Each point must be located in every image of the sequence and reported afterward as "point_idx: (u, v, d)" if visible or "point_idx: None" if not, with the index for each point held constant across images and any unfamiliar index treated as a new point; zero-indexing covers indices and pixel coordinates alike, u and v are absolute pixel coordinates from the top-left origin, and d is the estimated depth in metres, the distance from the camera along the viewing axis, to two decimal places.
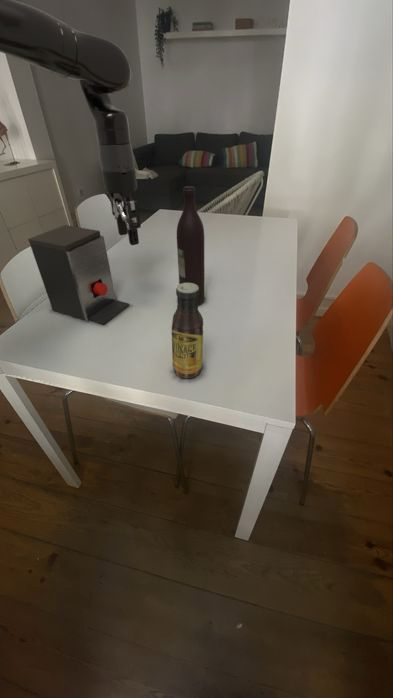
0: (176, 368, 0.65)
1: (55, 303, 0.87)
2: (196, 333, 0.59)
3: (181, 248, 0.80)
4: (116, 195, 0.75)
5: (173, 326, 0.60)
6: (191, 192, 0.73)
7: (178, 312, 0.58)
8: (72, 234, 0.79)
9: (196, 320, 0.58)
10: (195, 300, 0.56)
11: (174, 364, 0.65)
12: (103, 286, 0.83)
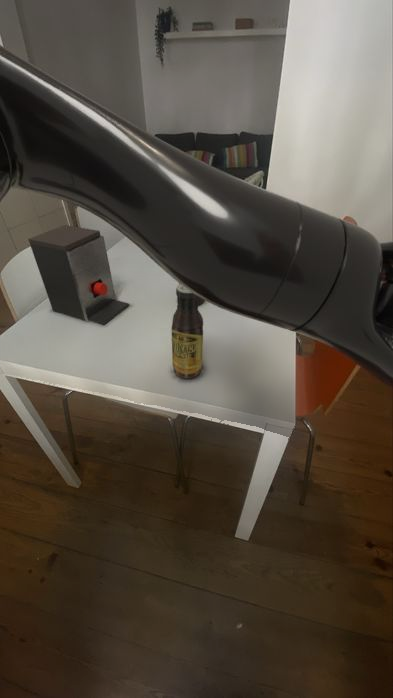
0: (176, 368, 0.65)
1: (55, 303, 0.87)
2: (196, 333, 0.59)
3: None
4: None
5: (173, 326, 0.60)
6: None
7: (178, 312, 0.58)
8: (72, 234, 0.79)
9: (196, 320, 0.58)
10: (195, 300, 0.56)
11: (174, 364, 0.65)
12: (103, 286, 0.83)
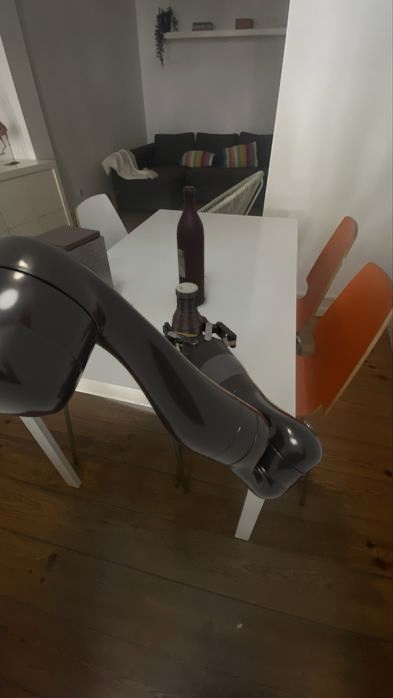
0: None
1: None
2: (196, 333, 0.59)
3: (181, 248, 0.80)
4: None
5: (173, 326, 0.60)
6: (191, 192, 0.73)
7: (177, 312, 0.58)
8: (72, 234, 0.79)
9: (195, 319, 0.58)
10: (194, 300, 0.56)
11: None
12: None
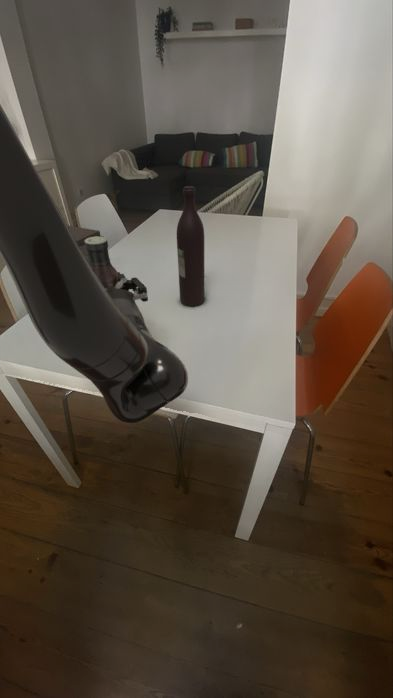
0: None
1: None
2: (110, 287, 0.60)
3: (181, 248, 0.80)
4: None
5: None
6: (191, 192, 0.73)
7: None
8: (72, 234, 0.79)
9: (107, 273, 0.59)
10: (104, 253, 0.57)
11: None
12: None
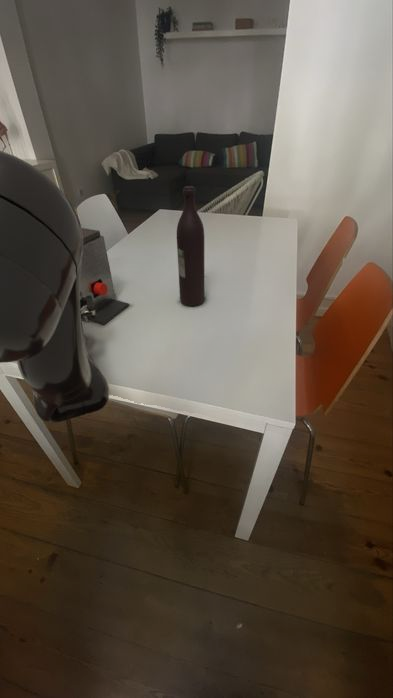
0: None
1: None
2: None
3: (181, 248, 0.80)
4: None
5: None
6: (191, 192, 0.73)
7: None
8: None
9: None
10: None
11: None
12: (103, 286, 0.83)
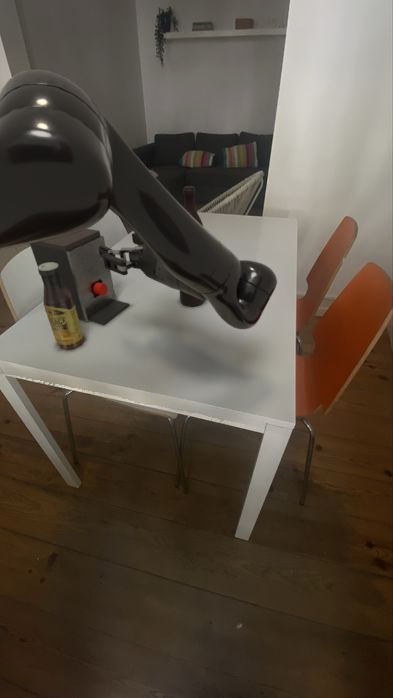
0: (56, 339, 0.74)
1: None
2: (63, 307, 0.68)
3: None
4: None
5: None
6: (191, 192, 0.73)
7: (44, 288, 0.66)
8: (72, 234, 0.79)
9: (60, 295, 0.67)
10: (55, 277, 0.65)
11: (54, 336, 0.74)
12: (103, 286, 0.83)
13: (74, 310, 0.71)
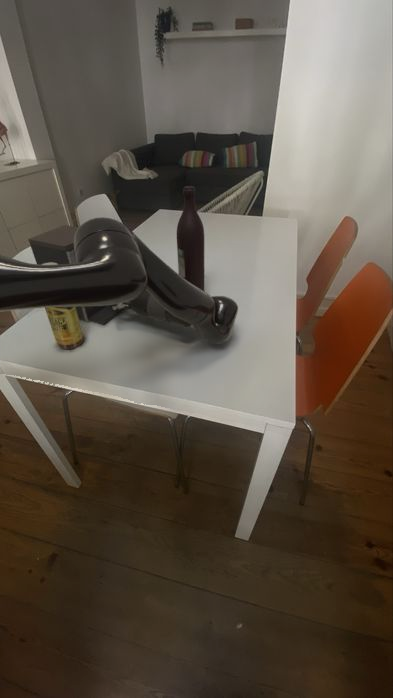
0: (56, 339, 0.74)
1: None
2: (63, 307, 0.68)
3: (181, 248, 0.80)
4: None
5: None
6: (191, 192, 0.73)
7: None
8: (72, 234, 0.79)
9: None
10: None
11: (54, 336, 0.74)
12: None
13: (74, 310, 0.71)
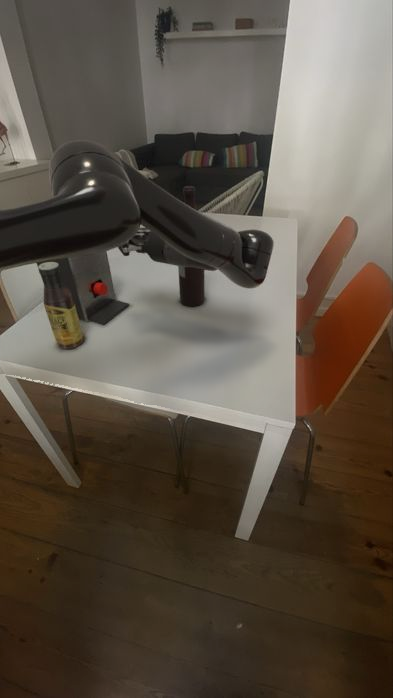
0: (55, 339, 0.74)
1: None
2: (62, 306, 0.68)
3: None
4: None
5: None
6: (191, 192, 0.73)
7: (44, 287, 0.67)
8: None
9: (60, 294, 0.67)
10: (55, 277, 0.65)
11: (54, 335, 0.74)
12: (103, 286, 0.83)
13: (74, 310, 0.71)
